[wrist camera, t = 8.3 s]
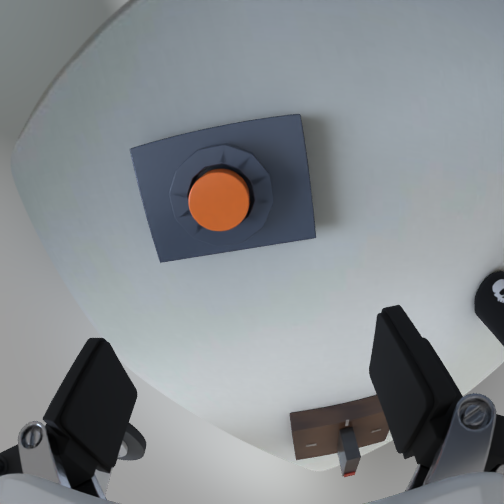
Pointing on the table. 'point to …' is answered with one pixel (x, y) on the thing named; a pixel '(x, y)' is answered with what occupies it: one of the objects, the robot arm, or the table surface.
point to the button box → (243, 163)
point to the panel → (337, 426)
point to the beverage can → (492, 304)
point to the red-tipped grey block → (348, 451)
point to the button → (219, 200)
